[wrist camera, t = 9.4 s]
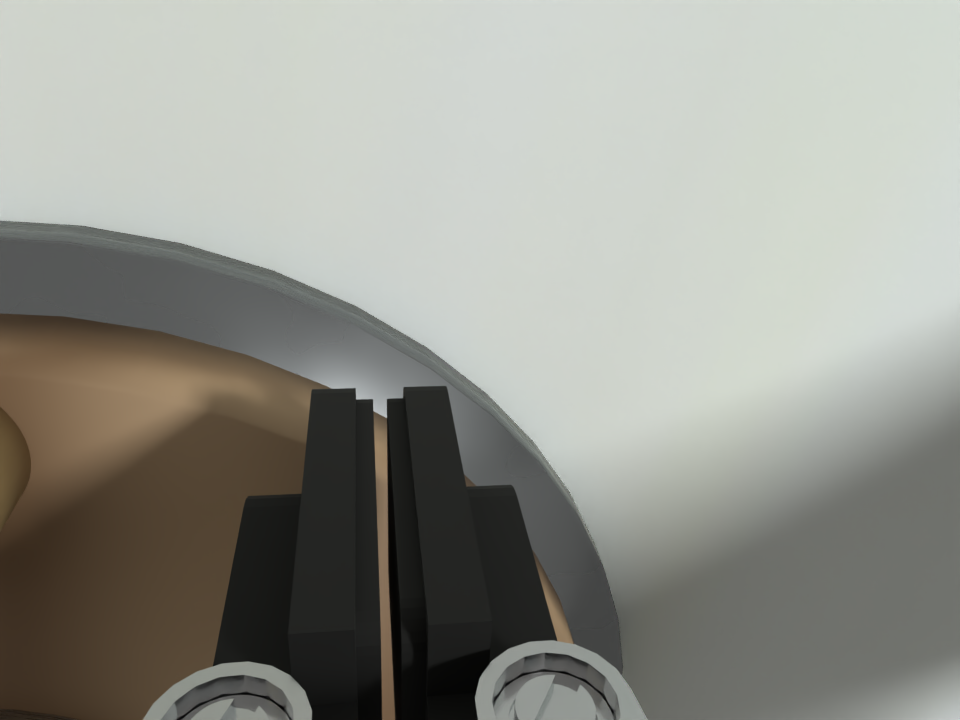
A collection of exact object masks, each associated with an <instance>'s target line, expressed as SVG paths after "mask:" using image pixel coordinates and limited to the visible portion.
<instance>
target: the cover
mask: <svg viewBox="0 0 960 720" xmlns="http://www.w3.org/2000/svg"><path fill="white" fill-rule="evenodd" d="M0 720H77V719H73V718H68V717H63V716H58V715H54V714H46V713H38V712H30V711H22V710H14V709H0Z"/></svg>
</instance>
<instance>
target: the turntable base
mask: <svg viewBox="0 0 960 720" xmlns="http://www.w3.org/2000/svg"><path fill="white" fill-rule="evenodd" d="M0 313H1V314H22V315H44V316H65V317H71V318H78V319H84V320H91V321H97V322H103V323H110V324H116V325H123V326H129V327H136V328H142V329H148V330H155V331H161V332H164V333H168V334H172V335H175V336H179V337H183V338H187V339H190V340H194V341H198V342H201V343H205V344H209V345H213V346H216V347H220V348H224V349H227V350H231V351H235V352H238V353H242V354H246V355H249V356H252V357H254V358H257V359H259V360H262V361H264V362H267V363H269V364H272V365H274V366H277V367H280V368H282V369H285V370H287V371H290V372H292V373H295V374H297V375H300V376H302V377H305V378H308V379H310V380H313V381H315V382H318V383H320V384H323V385H325V386H328V387H330V388H331V389H340V388H356V399H373V411H374V412H376V413H378V414H380V415H382V416H384V417H385V418H387V399H391V398H403V388H404V387H417V386H447V389H448V394H449V399H450V404H451V410H452V415H453V420H454V425H455V430H456V435H457V441H458V446H459V451H460V456H461V461H462V466H463V471H464V475H466V476H467V477H468V478H469V479H470V480H471V481H472V482H473V483H474V484H475V485H476V486H491V485H512V486H513V487H514V489H515V492H516V494H517V498H518V501H519V505H520V508H521V512H522V515H523V519H524V523H525V526H526V530H527V533H528V537H529V541H530V544H531V548H532V550H533V551H534V553H535V554H536V556H537V558H538V559H539V561H540V563H541V565H542V567H543V569H544V571H545V572H546V574H547V576H548V578H549V580H550V582H551V584H552V586H553V587H554V589H555V591H556V593H557V595H558V597H559V599H560V601H561V604H562V607H563V610H564V614H565V617H566V620H567V623H568V626H569V629H570V632H571V635H572V638H573V641H574V644H576V645H578V646H580V647H583V648H585V649H587V650H589V651H592V652H594V653H596V654H598V655H599V656H601V657H602V658H603V659H605V660H606V661H607V662H609V663H610V664H611V665H612V666H614V667H615V668H616V669H617V670H618V671H619V673H620V674H621V675H622V670H623V665H622V654H621V643H620V633H619V622H618V617H617V613H616V610H615V606H614V602H613V599H612V595H611V592H610V588H609V585H608V581H607V578H606V574H605V571H604V568H603V565H602V563H601V560H600V557H599V555H598V552H597V549H596V547H595V544H594V542H593V539H592V537H591V535H590V533H589V531H588V529H587V527H586V525H585V523H584V521H583V519H582V517H581V515H580V513H579V511H578V509H577V507H576V505H575V503H574V501H573V498H572V496H571V494H570V492H569V491H568V490H567V488H566V487H565V485H564V484H563V483H562V481H561V480H560V478H559V477H558V475H557V474H556V473H555V471H554V470H553V468H552V467H551V466H550V464H549V463H548V461H547V460H546V459H545V457H544V456H543V454H542V453H541V452H540V450H539V449H538V447H537V446H536V445H535V443H534V442H533V441H532V440H531V439H530V438H529V437H528V436H527V435H526V434H525V433H524V432H523V431H522V430H521V429H520V428H519V427H518V425H517V424H516V423H515V422H514V421H513V420H512V419H511V418H510V417H509V416H508V415H507V414H506V413H505V412H504V411H503V410H502V409H501V408H500V407H499V406H498V405H497V404H496V403H495V402H494V401H493V400H492V399H491V398H490V397H489V396H488V395H487V394H486V393H485V392H484V391H482V390H481V389H480V388H479V387H477V386H476V385H475V384H473V383H472V382H471V381H469V380H468V379H467V378H466V377H464V376H463V375H462V374H460V373H459V372H458V371H457V370H455V369H454V368H453V367H451V366H450V365H449V364H448V363H446V362H445V361H444V360H442V359H441V358H440V357H439V356H437V355H436V354H435V353H433V352H432V351H431V350H429V349H428V348H427V347H425V346H423V345H422V344H420V343H418V342H416V341H415V340H413V339H411V338H410V337H408V336H406V335H404V334H403V333H401V332H399V331H398V330H396V329H394V328H392V327H391V326H389V325H387V324H386V323H384V322H382V321H380V320H379V319H377V318H375V317H374V316H372V315H370V314H368V313H367V312H365V311H363V310H362V309H360V308H358V307H356V306H354V305H352V304H350V303H347V302H345V301H343V300H340V299H338V298H336V297H333V296H331V295H329V294H326V293H324V292H322V291H319V290H317V289H315V288H312V287H310V286H308V285H305V284H303V283H301V282H298V281H296V280H294V279H291V278H289V277H287V276H284V275H282V274H280V273H277V272H275V271H272V270H269V269H266V268H262V267H259V266H256V265H252V264H249V263H246V262H242V261H239V260H235V259H232V258H229V257H225V256H222V255H219V254H215V253H212V252H209V251H205V250H202V249H198V248H195V247H192V246H188V245H185V244H182V243H176V242H171V241H165V240H159V239H154V238H148V237H142V236H137V235H131V234H125V233H120V232H114V231H108V230H103V229H97V228H91V227H86V226H77V225H60V224H44V223H28V222H11V221H0Z"/></svg>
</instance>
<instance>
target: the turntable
mask: <svg viewBox="0 0 960 720" xmlns="http://www.w3.org/2000/svg"><path fill="white" fill-rule="evenodd" d="M312 389H331V388H330V387H328V386H325V385H323V384H320V383H318V382H315V381H313V380H310V379H308V378H305V377H302V376H300V375H297V374H295V373H292V372H290V371H287V370H285V369H282V368H280V367H277V366H274V365H272V364H269V363H267V362H264V361H262V360H259V359H257V358H254V357H252V356H249V355H246V354H242V353H238V352H235V351H231V350H227V349H224V348H220V347H216V346H213V345H209V344H205V343H201V342H198V341H194V340H190V339H187V338H183V337H179V336H175V335H172V334H168V333H164V332H161V331H155V330H148V329H142V328H136V327H129V326H123V325H116V324H110V323H103V322H97V321H91V320H84V319H78V318H71V317H65V316H44V315H22V314H1V313H0V709H14V710H22V711H30V712H38V713H46V714H54V715H58V716H63V717H68V718H73V719H77V720H143V719H144V717H145V716H146V714H147V712H148V711H149V709H150V708H151V706H152V705H153V703H154V702H155V701H156V700H158V699H159V698H160V697H161V696H162V695H163V694H164V693H165V692H166V691H167V690H168V689H169V688H171V687H172V686H173V685H174V684H176V683H178V682H179V681H181V680H183V679H185V678H186V677H188V676H190V675H192V674H193V673H195V672H197V671H200V670H203V669H206V668H210V667H213V662H214V657H215V652H216V647H217V642H218V637H219V631H220V626H221V621H222V616H223V611H224V606H225V600H226V595H227V590H228V585H229V580H230V574H231V569H232V564H233V559H234V554H235V549H236V543H237V538H238V533H239V528H240V523H241V518H242V512H243V507H244V504H245V500H246V498H247V497H248V496H259V495H282V494H301V492H302V482H303V472H304V461H305V451H306V441H307V430H308V420H309V410H310V399H311V391H312ZM374 441H375V470H376V500H377V529H378V558H379V588H380V620H381V670H382V720H395V707H394V686H393V665H392V644H391V623H390V602H389V578H388V487H387V418H385V417H384V416H382V415H380V414H378V413H376V412H374ZM464 477H465V482H466V487H468V486H476V485H475V484H474V483H473V482H472V481H471V480H470V479H469V478H468V477H467V476H466V475H464ZM532 551H533V550H532ZM533 555H534V558H535V562H536V566H537V569H538V573H539V576H540V580H541V584H542V587H543V591H544V594H545V598H546V602H547V605H548V609H549V612H550V616H551V619H552V623H553V627H554V630H555V634H556V637H557V641H559V642H565V643H570V644H574V641H573V638H572V635H571V632H570V629H569V626H568V623H567V620H566V617H565V614H564V610H563V607H562V604H561V601H560V599H559V597H558V595H557V593H556V591H555V589H554V587H553V586H552V584H551V582H550V580H549V578H548V576H547V574H546V572H545V571H544V569H543V567H542V565H541V563H540V561H539V559H538V558H537V556H536V554H535V553H534V551H533Z"/></svg>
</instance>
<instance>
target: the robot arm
mask: <svg viewBox="0 0 960 720" xmlns="http://www.w3.org/2000/svg"><path fill="white" fill-rule="evenodd" d="M387 487H388V578H389V602H390V623H391V644H392V665H393V686H394V707H395V720H648V719H647V717H646V715H645V713H644V712H643V710H642V708H641V706H640V704H639V702H638V701H637V699H636V697H635V695H634V693H633V691H632V689H631V688H630V686H629V685H628V683H627V682H626V681H625V679H624V678H623V677H622V675H621V674H620V673H619V671H618V670H617V669H616V668H615V667H614V666H612V665H611V664H610V663H609V662H607V661H606V660H605V659H603V658H602V657H601V656H599V655H598V654H596V653H594V652H592V651H589V650H587V649H585V648H583V647H580V646H578V645H576V644H570V643H565V642H559V641H557V637H556V634H555V630H554V627H553V623H552V619H551V616H550V612H549V609H548V605H547V602H546V598H545V594H544V591H543V587H542V584H541V580H540V576H539V573H538V569H537V566H536V562H535V558H534V555H533V551H532V548H531V544H530V541H529V537H528V533H527V530H526V526H525V523H524V519H523V515H522V512H521V508H520V505H519V501H518V498H517V494H516V492H515V489H514V487H513V486H512V485H491V486H468V487H466V482H465V477H464V471H463V466H462V461H461V456H460V451H459V446H458V441H457V435H456V430H455V425H454V420H453V415H452V410H451V404H450V399H449V394H448V389H447V386H417V387H404V388H403V398H391V399H387ZM143 720H382V670H381V620H380V588H379V558H378V529H377V500H376V470H375V441H374V411H373V399H356V388H340V389H312V391H311V399H310V410H309V420H308V430H307V441H306V451H305V461H304V472H303V482H302V492H301V494H282V495H259V496H248V497H247V498H246V500H245V504H244V507H243V512H242V518H241V523H240V528H239V533H238V538H237V543H236V549H235V554H234V559H233V564H232V569H231V574H230V580H229V585H228V590H227V595H226V600H225V606H224V611H223V616H222V621H221V626H220V631H219V637H218V642H217V647H216V652H215V657H214V662H213V667H210V668H206V669H203V670H200V671H197V672H195V673H193V674H192V675H190V676H188V677H186V678H185V679H183V680H181V681H179V682H178V683H176V684H174V685H173V686H172V687H171V688H169V689H168V690H167V691H166V692H165V693H164V694H163V695H162V696H161V697H160V698H159V699H158V700H156V701H155V702H154V703H153V705H152V706H151V708H150V709H149V711H148V712H147V714H146V716H145V717H144V719H143Z"/></svg>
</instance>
